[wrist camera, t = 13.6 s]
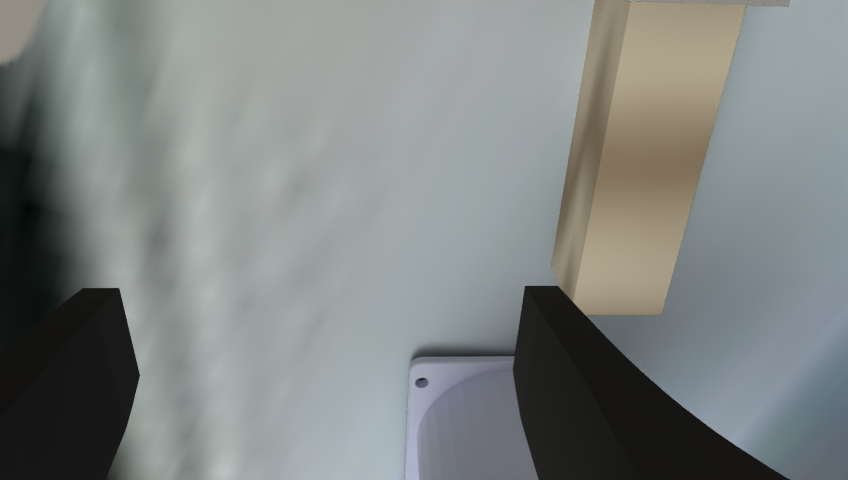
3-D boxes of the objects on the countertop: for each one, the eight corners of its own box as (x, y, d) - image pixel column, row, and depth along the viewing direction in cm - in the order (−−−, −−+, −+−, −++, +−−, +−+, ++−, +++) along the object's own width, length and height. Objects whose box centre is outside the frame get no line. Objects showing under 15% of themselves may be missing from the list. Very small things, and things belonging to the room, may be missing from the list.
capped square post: (645, 264, 25) (688, 334, 22) (537, 263, 25) (562, 334, 21) (725, -56, 20) (799, -30, 16) (586, -61, 19) (631, -35, 16)
